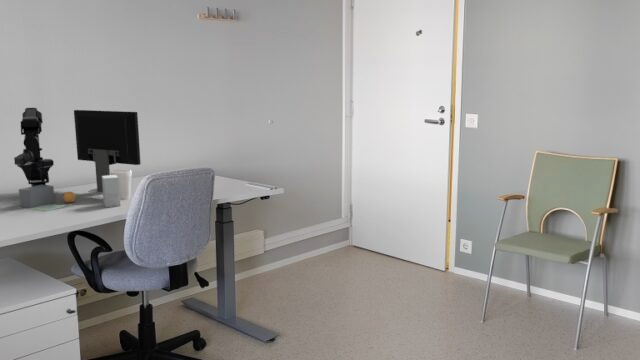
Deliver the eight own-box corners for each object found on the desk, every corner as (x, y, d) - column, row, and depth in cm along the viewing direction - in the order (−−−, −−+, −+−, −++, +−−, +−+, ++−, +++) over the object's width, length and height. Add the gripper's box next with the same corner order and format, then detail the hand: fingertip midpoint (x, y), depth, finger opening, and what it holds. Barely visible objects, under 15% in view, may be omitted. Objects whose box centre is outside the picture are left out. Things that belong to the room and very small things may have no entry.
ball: (61, 202, 278) (60, 192, 277) (70, 200, 282) (69, 190, 282) (69, 203, 276) (68, 193, 275) (77, 201, 280) (77, 191, 279)
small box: (120, 206, 271) (118, 177, 269) (105, 207, 268) (103, 178, 266) (118, 202, 278) (116, 174, 276) (103, 204, 275) (101, 175, 273)
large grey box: (20, 206, 272) (18, 189, 271) (43, 201, 283) (41, 184, 281) (32, 207, 269) (30, 190, 267) (54, 202, 279) (53, 185, 278)
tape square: (30, 209, 266) (30, 208, 266) (49, 204, 275) (49, 204, 275) (46, 211, 262) (46, 210, 262) (65, 206, 271) (65, 206, 271)
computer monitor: (145, 193, 297) (140, 111, 290) (133, 196, 290) (127, 112, 283) (86, 186, 316) (80, 109, 309) (73, 189, 309) (66, 110, 301)
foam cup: (126, 200, 282) (124, 173, 279) (108, 200, 284) (106, 172, 281) (136, 196, 291) (135, 169, 289) (119, 195, 293) (117, 169, 290)
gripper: (2, 147, 268) (5, 182, 271) (31, 149, 260) (34, 185, 263) (24, 144, 278) (27, 178, 281) (53, 146, 270) (56, 181, 272)
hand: (35, 180), depth 274 cm, fingers open, 9 cm apart
